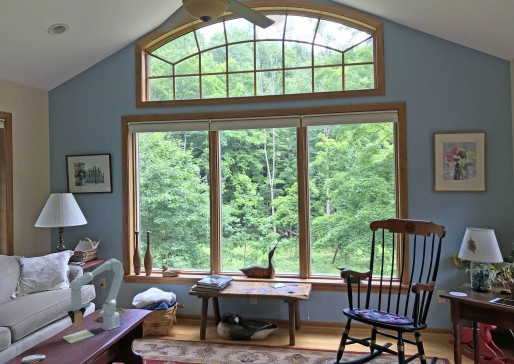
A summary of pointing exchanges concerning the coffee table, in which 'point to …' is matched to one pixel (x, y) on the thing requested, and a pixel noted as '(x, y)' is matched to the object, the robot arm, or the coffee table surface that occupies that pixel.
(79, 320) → the terracotta block
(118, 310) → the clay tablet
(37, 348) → the coffee table surface
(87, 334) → the grey mat
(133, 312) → the coffee table surface
